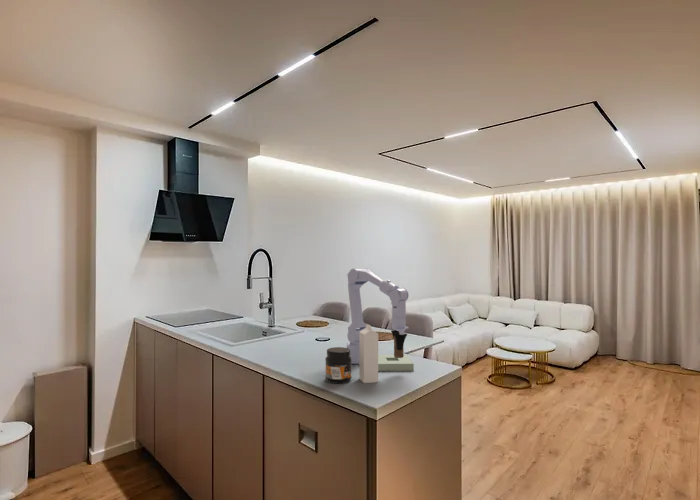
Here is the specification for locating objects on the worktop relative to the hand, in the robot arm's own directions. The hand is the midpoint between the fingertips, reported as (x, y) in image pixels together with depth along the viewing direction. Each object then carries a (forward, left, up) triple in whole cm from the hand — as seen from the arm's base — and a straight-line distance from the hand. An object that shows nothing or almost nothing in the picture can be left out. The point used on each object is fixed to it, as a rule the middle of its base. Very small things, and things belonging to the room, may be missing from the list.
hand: (398, 348), depth 158 cm
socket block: (-1, +11, -10) cm, 16 cm away
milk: (-14, -10, -11) cm, 20 cm away
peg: (0, 0, -3) cm, 3 cm away
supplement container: (-26, -9, -11) cm, 29 cm away
